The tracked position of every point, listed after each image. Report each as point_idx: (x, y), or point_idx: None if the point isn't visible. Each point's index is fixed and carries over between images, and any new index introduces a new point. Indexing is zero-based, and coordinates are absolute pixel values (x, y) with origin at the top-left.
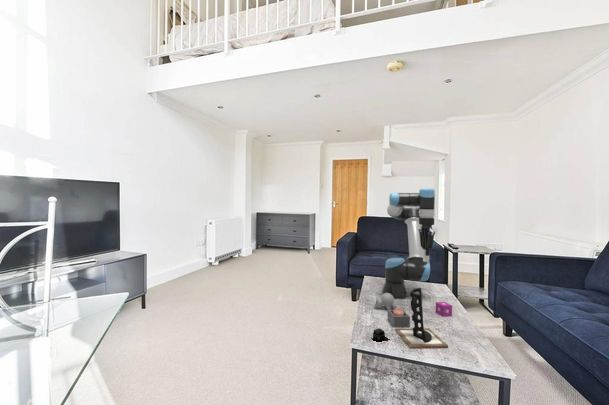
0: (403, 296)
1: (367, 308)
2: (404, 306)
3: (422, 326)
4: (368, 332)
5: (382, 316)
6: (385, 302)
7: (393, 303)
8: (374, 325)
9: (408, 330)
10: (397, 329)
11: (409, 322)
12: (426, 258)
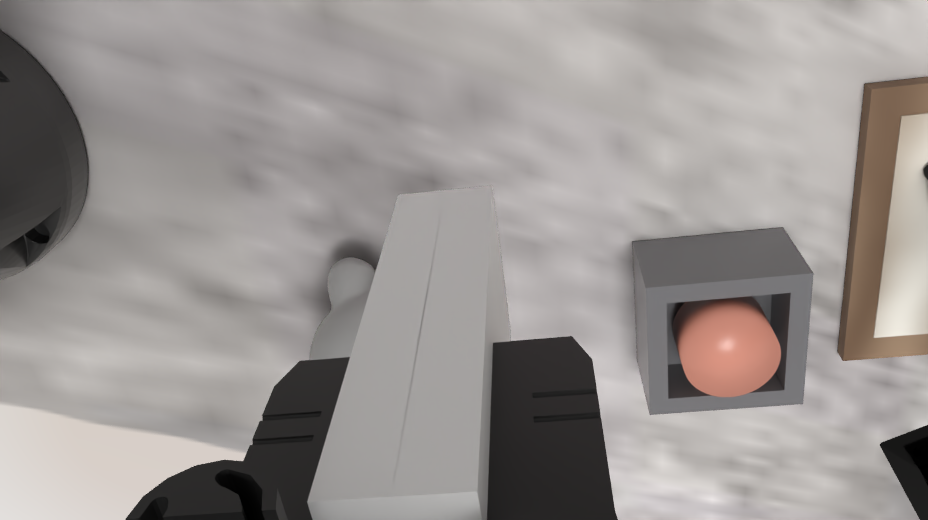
0: (35, 79)
1: None
2: (299, 132)
3: None
4: (839, 513)
5: None
6: None
7: None
8: (736, 463)
9: (889, 278)
10: (856, 350)
11: (794, 250)
12: (502, 329)
